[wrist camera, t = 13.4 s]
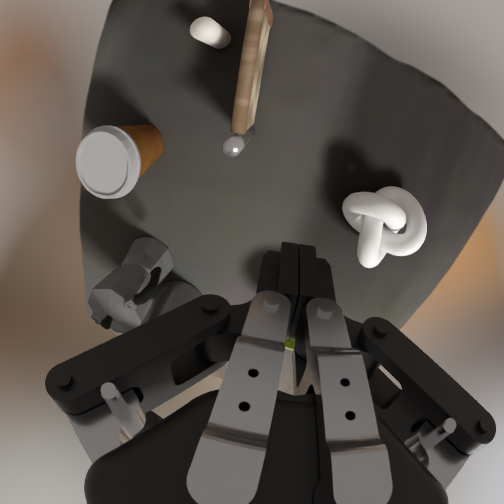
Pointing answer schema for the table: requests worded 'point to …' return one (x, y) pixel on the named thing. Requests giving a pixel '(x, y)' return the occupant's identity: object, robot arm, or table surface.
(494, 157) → the table surface
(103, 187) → the disposable coffee cup
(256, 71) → the brown flat block
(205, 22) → the post
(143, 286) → the coffeepot
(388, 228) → the white decorative knot
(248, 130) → the translucent grey rod
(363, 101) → the table surface
